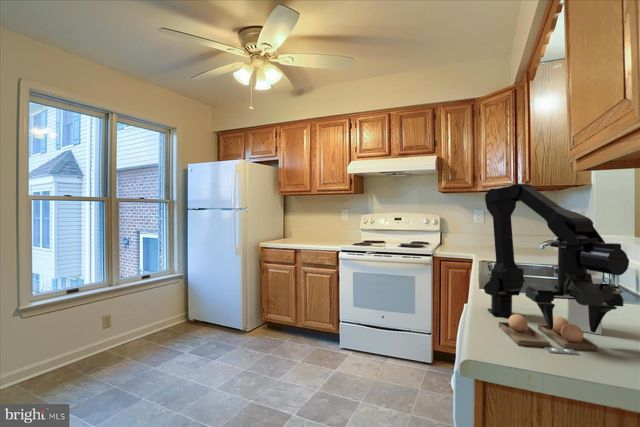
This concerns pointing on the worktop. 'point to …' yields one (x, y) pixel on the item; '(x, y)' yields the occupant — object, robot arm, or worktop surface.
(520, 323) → the ball
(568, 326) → the ball
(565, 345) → the trough
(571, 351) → the card
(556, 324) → the ball
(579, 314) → the milk carton
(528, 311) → the worktop surface
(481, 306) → the worktop surface
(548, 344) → the trough
